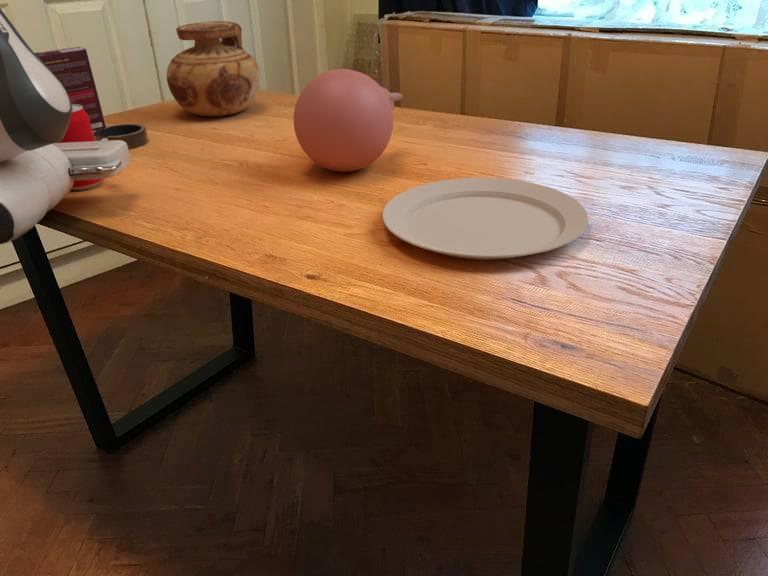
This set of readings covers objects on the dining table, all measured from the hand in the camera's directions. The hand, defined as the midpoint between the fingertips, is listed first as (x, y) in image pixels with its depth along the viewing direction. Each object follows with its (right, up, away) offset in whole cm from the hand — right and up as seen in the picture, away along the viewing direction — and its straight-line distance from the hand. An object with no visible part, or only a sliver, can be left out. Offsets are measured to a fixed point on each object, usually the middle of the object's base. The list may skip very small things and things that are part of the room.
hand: (72, 144), depth 100 cm
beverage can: (0, -6, +3) cm, 7 cm away
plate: (+60, -14, -16) cm, 64 cm away
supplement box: (-12, +8, +30) cm, 33 cm away
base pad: (-2, +5, +23) cm, 24 cm away
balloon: (+43, -2, +7) cm, 44 cm away
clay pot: (+12, +16, +42) cm, 47 cm away
